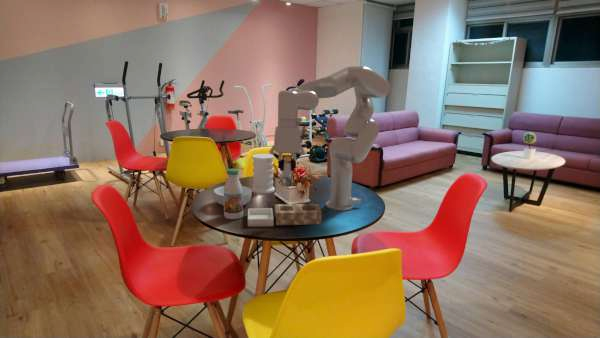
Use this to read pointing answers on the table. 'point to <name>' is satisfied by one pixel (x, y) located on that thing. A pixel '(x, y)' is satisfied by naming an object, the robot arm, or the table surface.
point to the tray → (260, 217)
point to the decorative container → (263, 173)
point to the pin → (286, 170)
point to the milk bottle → (233, 196)
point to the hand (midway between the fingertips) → (286, 169)
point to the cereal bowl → (220, 194)
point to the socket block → (297, 214)
